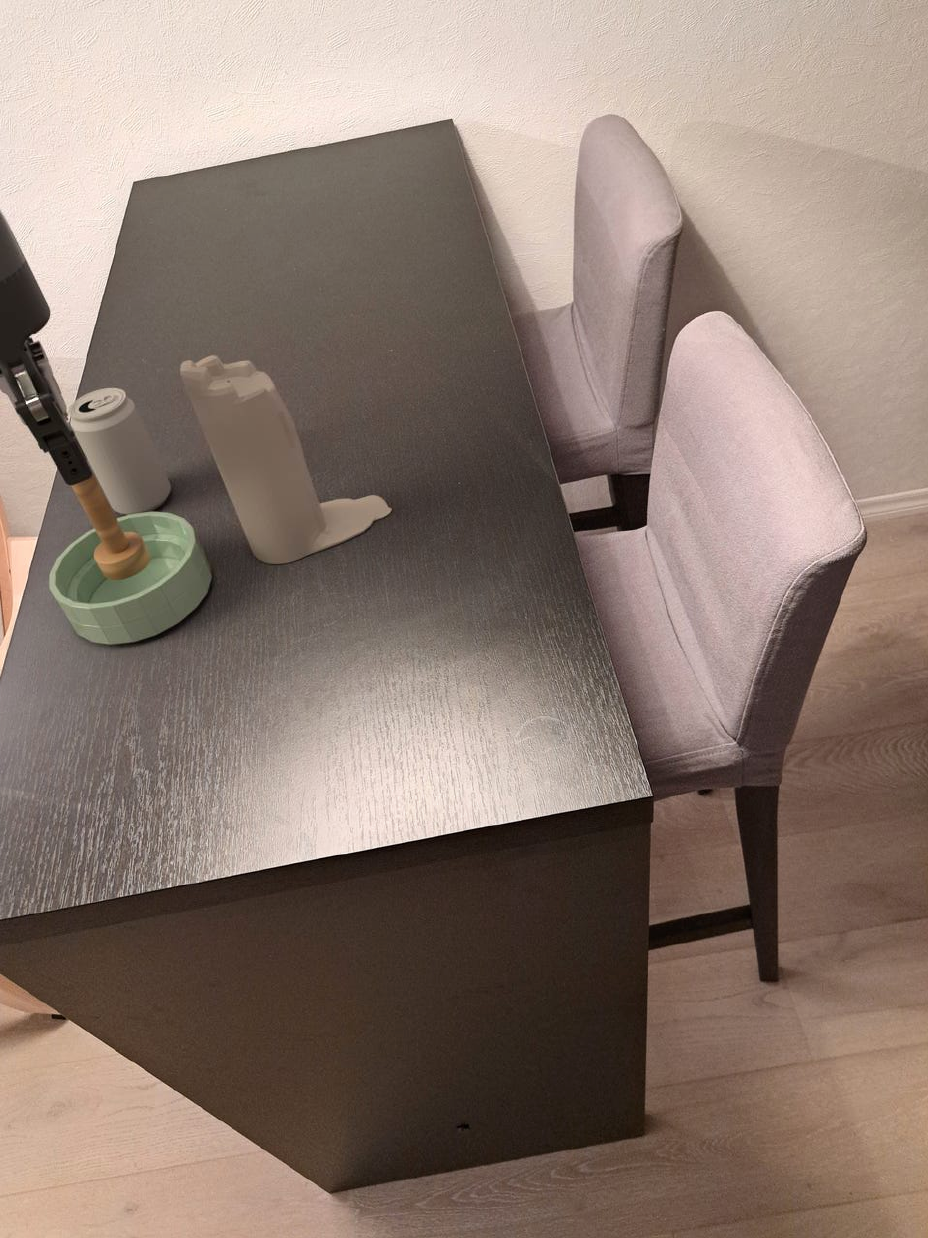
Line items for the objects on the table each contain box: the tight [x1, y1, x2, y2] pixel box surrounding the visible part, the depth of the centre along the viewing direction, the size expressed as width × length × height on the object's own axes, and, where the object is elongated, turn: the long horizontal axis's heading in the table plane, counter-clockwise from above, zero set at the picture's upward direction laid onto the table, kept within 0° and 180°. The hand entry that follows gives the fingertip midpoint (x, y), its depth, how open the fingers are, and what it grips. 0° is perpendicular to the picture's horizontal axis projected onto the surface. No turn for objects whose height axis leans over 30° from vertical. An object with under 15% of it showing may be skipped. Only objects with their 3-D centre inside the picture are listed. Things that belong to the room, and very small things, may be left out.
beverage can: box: [68, 387, 172, 516], centre depth 96 cm, size 6×6×12 cm
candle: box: [179, 354, 392, 565], centre depth 84 cm, size 7×14×20 cm, turn 113°
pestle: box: [70, 441, 151, 580], centre depth 80 cm, size 4×4×15 cm
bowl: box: [48, 511, 213, 646], centre depth 86 cm, size 13×13×5 cm
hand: (77, 472), depth 78 cm, fingers closed on pestle, 2 cm apart
